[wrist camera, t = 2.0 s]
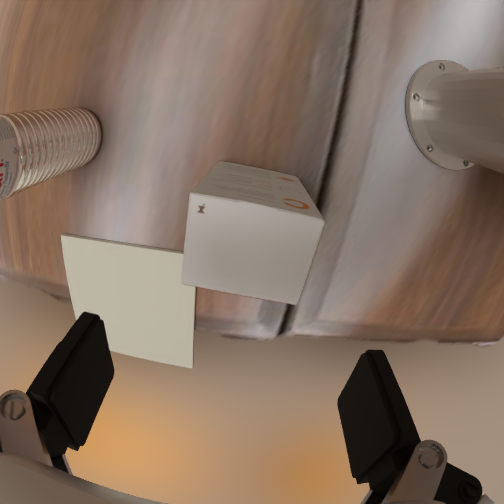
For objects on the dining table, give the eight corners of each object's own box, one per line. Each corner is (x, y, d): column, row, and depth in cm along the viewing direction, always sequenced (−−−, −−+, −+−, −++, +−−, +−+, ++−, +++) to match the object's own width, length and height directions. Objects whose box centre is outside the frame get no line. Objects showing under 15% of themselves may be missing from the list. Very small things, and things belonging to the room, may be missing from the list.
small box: (208, 219, 31) (176, 285, 19) (218, 159, 28) (187, 189, 16) (284, 234, 31) (298, 308, 19) (299, 176, 28) (327, 218, 17)
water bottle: (95, 96, 25) (-125, 126, 2) (111, 153, 28) (-101, 256, 5) (51, 123, 26) (-137, 183, 3) (67, 175, 28) (-112, 281, 6)
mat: (198, 253, 32) (197, 256, 32) (193, 365, 40) (192, 368, 39) (63, 233, 32) (60, 235, 31) (83, 340, 39) (82, 342, 39)
